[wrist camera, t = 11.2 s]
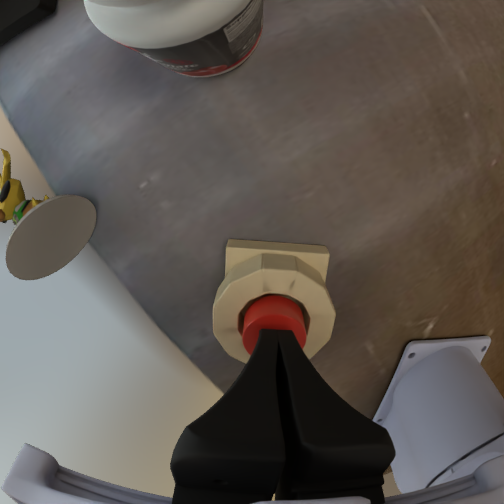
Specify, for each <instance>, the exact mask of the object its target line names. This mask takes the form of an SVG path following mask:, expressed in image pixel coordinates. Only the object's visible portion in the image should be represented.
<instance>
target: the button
mask: <svg viewBox="0 0 504 504" xmlns="http://www.w3.org/2000/svg"><path fill="white" fill-rule="evenodd" d="M261 329H280V330H292V331H293V332H294V335H295V337H296V339H297V341H298V342H299V344H300V346H301V348H302V350H303V348H304V346H305V343H306V330H305V324H304V319H303V314H302V311H301V309H300V308H299V306H298V305H297V304H296V303H295V302H293V301H292V300H290V299H288V298H285V297H282V296H267V297H263V298H261V299H258V300H257V301H255V302H254V303H253V304H251V305H250V307H249V308H248V309H247V311H246V313H245V317H244V326H243V336H242V341H243V345H244V348H245V350H246V351H247V352H248V354H250V355H251V354H252V352H253V350H254V348H255V345H256V343H257V340H258V336H259V330H261Z"/></svg>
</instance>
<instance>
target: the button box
mask: <svg viewBox="0 0 504 504" xmlns="http://www.w3.org/2000/svg"><path fill="white" fill-rule="evenodd" d="M329 256H330V254H329V252H328V250H327V248H326V246H322V245H309V244H295V243H281V242H267V241H253V240H238V239H229V240H228V243H227V246H226V263H225V279H224V280H223V282H222V283H221V285H220V286H219V287H218V290H217V294H216V297H215V301H214V305H213V334H214V335H215V337H216V338H217V340H218V341H219V342H220V344H221V345H222V347H223V348H224V350H225V351H226V352H227V354H228V355H229V356H231V357H233V358H235V359H237V360H239V361H241V362H243V363H245V364H247V362H248V360H249V358H250V356H251V355H250V354H248V352H247V351H246V350H245V348H244V345H243V341H242V336H243V326H244V317H245V313H246V311H247V309H248V308H249V307H250V305H251V304H253V303H254V302H255V301H257V300H258V299H261V298H263V297H267V296H282V297H285V298H288V299H290V300H292V301H293V302H295V303H296V304H297V305H298V306H299V308H300V309H301V311H302V314H303V319H304V324H305V330H306V343H305V346H304V348H303V351H304V353H305V354H306V356H307V358H308V359H311V358H312V357H313V356H314V355H315V354H316V353H317V352H318V351H319V350H320V349H321V348H322V347H323V346H324V345H325V344H326V343H327V342H328V341H329V339H330V338H331V334H332V329H333V325H334V321H335V317H336V312H335V309H334V306H333V303H332V300H331V298H330V295H329V292H328V290H327V288H326V285H325V280H326V274H327V268H328V262H329Z"/></svg>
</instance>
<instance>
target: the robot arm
mask: <svg viewBox="0 0 504 504" xmlns="http://www.w3.org/2000/svg"><path fill="white" fill-rule="evenodd" d="M490 343H491V339H490V337H489V336H479V337H467V338H454V339H439V340H419V341H412V342H410V343H409V344H408V345H407V346H406V348H405V351H404V353H403V356H402V358H401V360H400V363H399V365H398V367H397V370H396V372H395V374H394V377H393V379H392V381H391V383H390V385H389V388H388V390H387V392H386V394H385V396H384V398H383V400H382V402H381V404H380V406H379V408H378V410H377V412H376V414H375V416H374V418H373V420H370V419H368V418H367V417H365V416H364V415H362V414H361V413H360V412H358V411H357V410H355V409H354V408H353V407H351V406H350V405H349V404H348V403H347V402H345V401H344V400H343V399H342V398H341V397H340V396H339V395H338V394H337V393H335V392H334V391H333V389H332V388H331V387H330V386H329V385H328V384H327V383H326V382H325V381H324V379H323V378H322V377H321V376H320V374H319V373H318V372H317V371H316V369H315V368H314V366H313V365H312V364H311V362H310V361H309V359H308V358H307V356H306V354H305V353H304V351H303V350H302V348H301V346H300V344H299V342H298V341H297V339H296V337H295V335H294V332H293V331H292V330H280V329H261V330H259V336H258V340H257V343H256V345H255V348H254V350H253V352H252V354H251V356H250V358H249V360H248V362H247V364H246V365H245V367H244V369H243V370H242V372H241V374H240V375H239V377H238V378H237V379H236V381H235V382H234V383H233V385H232V386H231V387H230V388H229V389H228V391H227V392H226V393H225V394H224V395H223V396H222V398H220V400H218V401H217V403H215V404H214V405H213V406H212V407H211V408H210V409H209V410H208V411H207V412H206V413H204V414H203V415H202V416H200V417H199V418H198V419H196V420H195V421H194V422H192V423H191V424H189V425H188V426H186V428H185V429H184V431H183V433H182V434H181V436H180V438H179V440H178V442H177V444H176V446H175V449H174V451H173V455H172V459H171V463H170V467H171V472H172V475H173V477H174V480H175V489H174V494H173V498H170V497H164V496H159V495H155V494H150V493H146V492H142V491H137V490H134V489H130V488H125V487H122V486H118V485H115V484H111V483H108V482H105V481H101V480H99V479H95V478H92V477H89V476H86V475H84V474H81V473H78V472H75V471H73V470H70V469H67V468H64V467H62V466H60V465H59V464H58V462H57V461H56V459H55V458H54V457H53V456H51V455H50V454H49V453H47V452H45V451H42V450H40V449H38V448H35V447H34V446H32V445H29V444H27V443H25V444H24V445H23V447H22V448H21V450H20V452H19V454H18V456H17V457H16V459H15V461H14V463H13V465H12V467H11V469H10V471H9V473H8V474H7V477H6V479H5V480H4V482H3V484H2V487H1V489H2V490H3V491H4V492H5V493H6V494H7V495H8V496H10V497H11V498H12V499H13V500H14V501H15V502H17V503H18V504H504V399H503V397H502V396H501V394H500V393H499V391H498V390H497V388H496V386H495V385H494V383H493V382H492V380H491V379H490V378H489V376H488V375H487V373H486V372H485V370H484V369H483V367H482V366H481V364H480V362H481V360H482V359H483V357H484V355H485V353H486V351H487V349H488V347H489V345H490ZM410 353H412V354H410ZM409 354H410V355H409ZM390 464H391V468H392V471H393V475H394V479H395V482H396V485H397V487H398V488H399V490H400V491H401V492H402V493H403V494H400V495H395V496H390V497H385V498H384V494H383V489H382V485H383V484H384V478H383V473H384V472H385V470H386V469H387V468H388V467H389V465H390ZM273 494H275V501H271V500H272V497H273Z"/></svg>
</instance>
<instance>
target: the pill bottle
mask: <svg viewBox="0 0 504 504" xmlns="http://www.w3.org/2000/svg"><path fill="white" fill-rule="evenodd" d="M84 5H85V8H86V11H87V14H88V16H89V18H90V20H91V21H92V22H93V24H94V25H95V26H96V27H97V28H98V29H99V30H100V31H101V32H102V33H104V34H105V35H106V36H108V37H109V38H111V39H112V40H114V41H116V42H118V43H120V44H122V45H124V46H126V47H128V48H130V49H133V50H134V51H136V52H138V53H141V54H142V55H144V56H146V57H148V58H150V59H152V60H154V61H155V62H157V63H159V64H161V65H162V66H164V67H166V68H168V69H170V70H172V71H174V72H176V73H179V74H181V75H185V76H190V77H211V76H216V75H220V74H223V73H226V72H228V71H231V70H232V69H234V68H236V67H237V66H239V65H240V64H241V63H243V62H244V61H245V60H246V59H247V58H248V57H249V56H250V55H251V54H252V52H253V51H254V50H255V48H256V47H257V45H258V43H259V40H260V37H261V34H262V27H263V0H84Z"/></svg>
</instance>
